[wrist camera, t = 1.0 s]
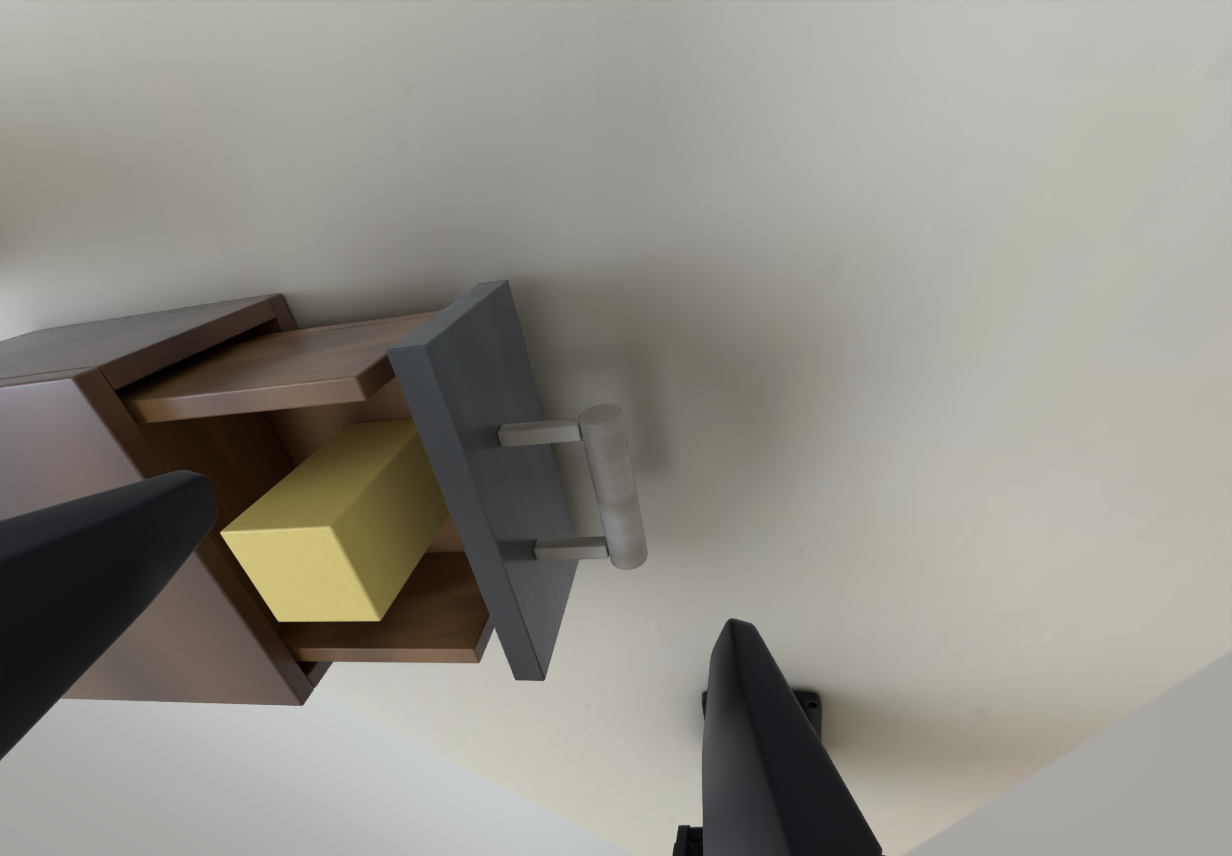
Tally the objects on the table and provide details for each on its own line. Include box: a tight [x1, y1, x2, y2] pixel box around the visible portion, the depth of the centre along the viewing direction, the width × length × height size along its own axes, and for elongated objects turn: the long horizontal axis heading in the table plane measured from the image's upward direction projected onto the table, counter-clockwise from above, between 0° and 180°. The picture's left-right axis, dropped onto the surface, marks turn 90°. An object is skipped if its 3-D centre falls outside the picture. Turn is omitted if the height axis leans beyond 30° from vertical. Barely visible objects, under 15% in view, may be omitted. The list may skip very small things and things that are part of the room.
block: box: [220, 418, 450, 622], centre depth 20 cm, size 4×4×7 cm
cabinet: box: [0, 294, 333, 706], centre depth 23 cm, size 14×15×9 cm
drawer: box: [115, 280, 648, 681], centre depth 21 cm, size 17×13×7 cm
